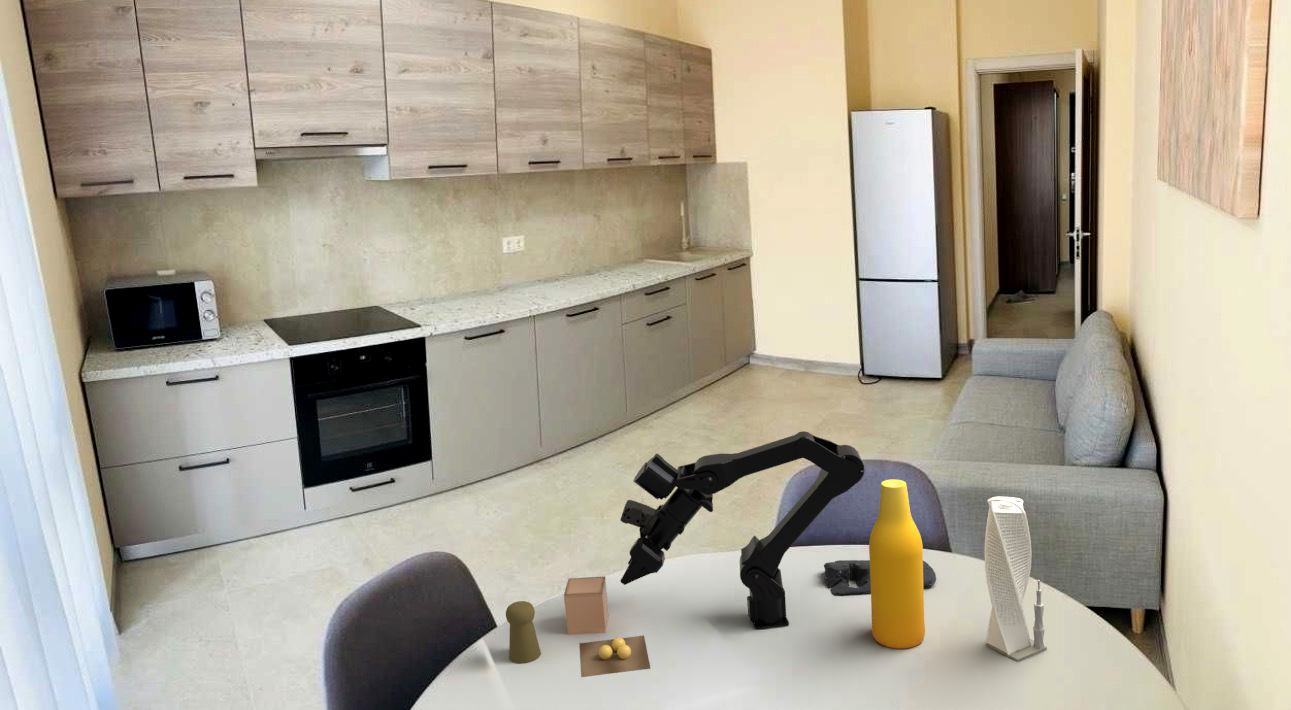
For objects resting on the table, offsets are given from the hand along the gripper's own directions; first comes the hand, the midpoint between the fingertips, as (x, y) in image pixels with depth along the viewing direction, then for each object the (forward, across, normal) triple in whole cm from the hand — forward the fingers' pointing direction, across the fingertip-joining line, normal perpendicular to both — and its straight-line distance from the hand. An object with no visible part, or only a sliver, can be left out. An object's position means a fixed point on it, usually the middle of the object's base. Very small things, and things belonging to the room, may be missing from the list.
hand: (626, 573), depth 182 cm
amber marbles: (+8, +12, +6) cm, 16 cm away
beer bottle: (-25, +5, +44) cm, 51 cm away
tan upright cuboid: (+13, +1, +1) cm, 13 cm away
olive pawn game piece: (+20, +12, -5) cm, 24 cm away
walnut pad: (+9, +12, +7) cm, 17 cm away
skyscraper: (-37, +9, +58) cm, 69 cm away
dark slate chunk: (-25, -20, +43) cm, 53 cm away
